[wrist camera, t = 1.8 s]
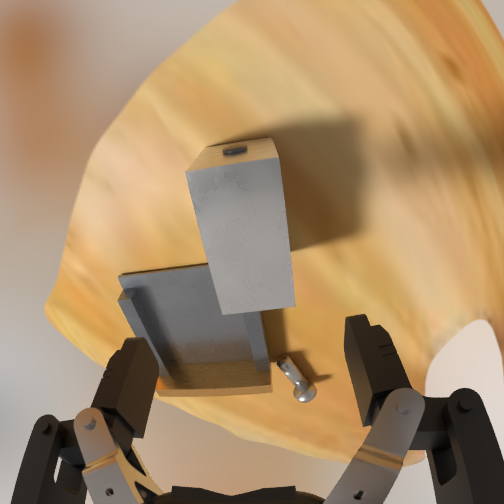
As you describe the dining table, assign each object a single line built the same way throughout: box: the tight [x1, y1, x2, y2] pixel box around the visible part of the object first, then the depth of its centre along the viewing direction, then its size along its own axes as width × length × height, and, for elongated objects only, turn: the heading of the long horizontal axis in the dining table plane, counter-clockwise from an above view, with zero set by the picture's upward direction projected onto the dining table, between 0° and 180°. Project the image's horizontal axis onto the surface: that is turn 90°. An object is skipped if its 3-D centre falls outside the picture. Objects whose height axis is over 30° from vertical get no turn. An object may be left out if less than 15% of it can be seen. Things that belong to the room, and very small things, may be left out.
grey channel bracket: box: [118, 265, 272, 397], centre depth 29 cm, size 14×13×4 cm
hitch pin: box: [277, 355, 317, 403], centre depth 33 cm, size 7×3×3 cm, turn 29°
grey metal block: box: [185, 137, 296, 315], centre depth 21 cm, size 10×5×7 cm, turn 9°
